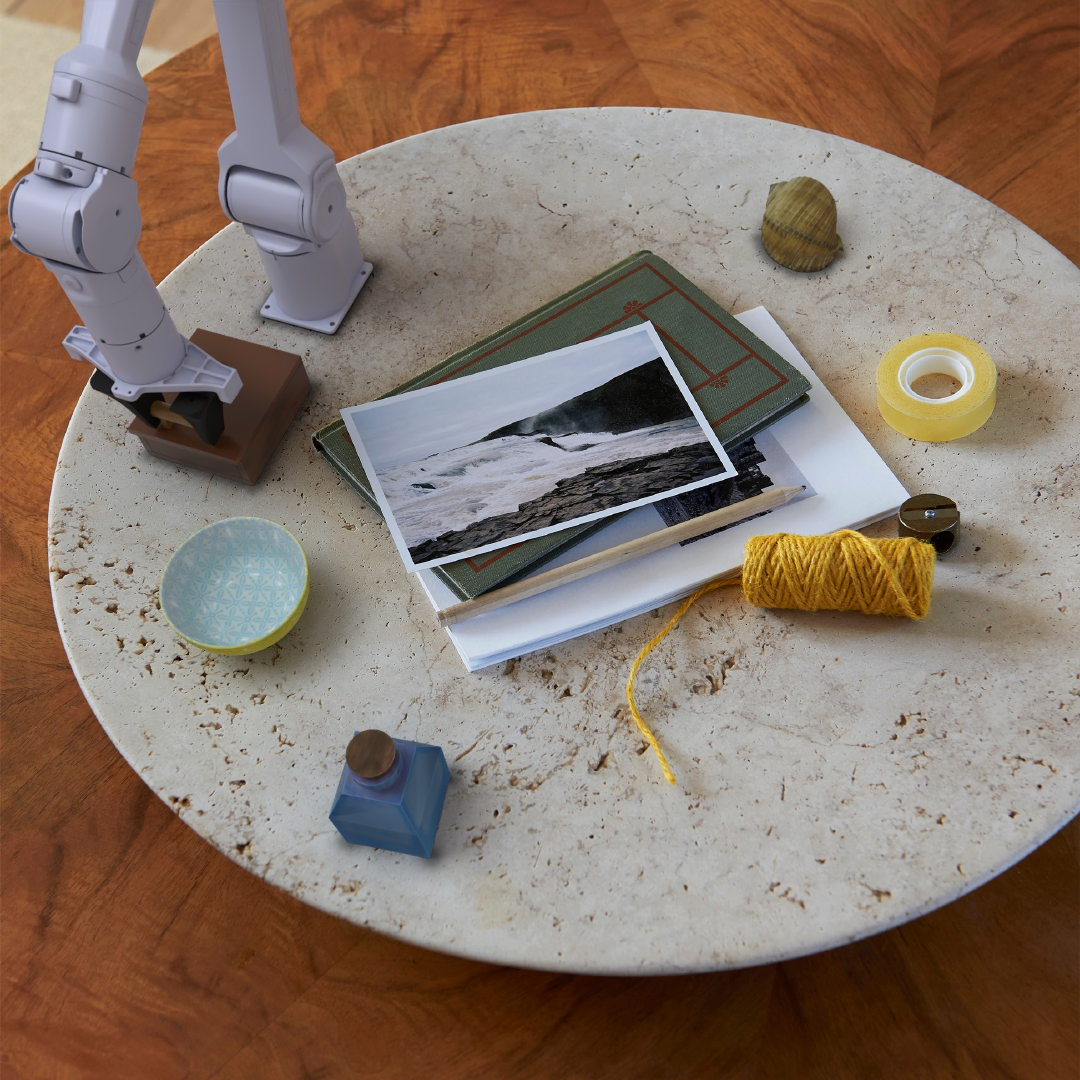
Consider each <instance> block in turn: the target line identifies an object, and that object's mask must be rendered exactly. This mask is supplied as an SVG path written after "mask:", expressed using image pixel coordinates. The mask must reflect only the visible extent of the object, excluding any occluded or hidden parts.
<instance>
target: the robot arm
mask: <svg viewBox="0 0 1080 1080" xmlns="http://www.w3.org/2000/svg"><path fill="white" fill-rule="evenodd" d="M155 1H156V0H83V8H82V9H83V10H82V16H81V17H82V18H81V26H80V33H79V34H80V35H79V43H78V44H77V45H76V46H75V47H73V48H71V49H70V50H68V51H67V52H65V53H63V54H61V55H60V56H59V57H58V58H56V59H55V61H54V67H53V71H52V76H51V81H50V85H49V87H50V88H49V92H48V97H47V101H46V106H45V112H44V116H43V121H42V125H41V132H40V136H39V143H38V146H37V152H36V157H35V161H34V166H33V170H32V171H31V172H30V173H28V174H26V175H24V176H23V177H21V178H20V179H19V181H18V182H17V183H16V184H15V185H14V187H13V189H12V191H11V193H10V196H9V200H8V206H7V215H8V222H9V225H10V227H11V231H12V233H11V235H10V237H9V240H10V242H11V243H12V245H13V246H14V247H15V248H16V249H17V250H18V251H20V252H21V253H22V254H25V255H28V256H32V257H35V258H38V259H39V260H40V261H41V262H42V264H43V265H44V267H45V268H46V270H47V271H48V272H50V273H53V275H54V276H55V278H56V280H57V281H58V283H59V285H60V286H61V288H62V290H63V291H64V293H65V295H66V297H67V298H68V300H69V301H70V303H71V304H72V306H73V307H74V310H75V311H76V313H77V315H78V317H79V318H80V320H81V322H82V323H83V325H84V326H83V325H78V324H75V325H74V326H73V327H72V328H71V330H70V331H69V333H68V334H67V335H66V336H65V338H64V339H63V340H62V341H61V343H62V345H63V347H64V348H65V350H66V351H67V353H68V354H69V356H70V358H71V359H73V360H76V361H79V362H83V361H84V360H87V361H88V362H89V363H91V365H93V366H94V367H95V369H96V370H95V371H94V373H93V374H92V376H91V377H90V379H89V385H90V387H91V389H92V390H94V391H96V392H99V393H101V394H103V395H105V396H107V397H109V398H111V399H112V400H114V401H116V402H117V403H119V404H120V405H122V406H123V407H124V408H126V409H127V410H128V411H129V412H130V413H132V414H133V415H134V416H135V417H136V416H137V417H138V418H139V419H140V420H141V421H142V422H144V423H145V424H146V425H147V426H149V427H151V428H154V429H157V427H158V426H159V424H160V423H161V422H160V420H159V418H157V417H154V416H152V415H151V413H150V408H151V405H152V403H153V402H154V401H156V400H158V401H162V402H165V403H166V401H165V399H164V396H163V394H162V392H180V393H179V394H178V396H177V397H176V399H175V400H174V402H173V403H172V405H171V406H170V408H169V410H170V411H171V412H173V413H175V414H178V415H179V416H181V417H183V418H184V419H185V420H186V421H188V422H189V424H190V425H191V426H192V427H193V428H194V430H195V431H196V432H197V434H198V435H199V437H200V438H201V440H202V441H204V442H205V443H206V444H208V445H211V446H214V445H215V444H216V443H217V441H218V440H219V438H220V436H221V435H222V433H223V432H224V430H225V424H224V415H223V402H226V403H230V404H231V403H232V402H233V400H234V399H235V397H236V396H237V394H238V393H239V391H240V389H241V388H242V386H243V384H242V381H241V379H240V377H239V375H238V372H237V370H236V369H234V368H231V367H228V366H227V365H226V364H225V363H222V362H219V361H217V360H215V359H214V358H213V357H211V356H210V355H209V354H207V353H206V352H205V351H203V350H202V349H200V348H199V347H198V346H196V345H195V344H194V343H192V342H191V341H190V340H189V339H188V338H187V337H186V336H184V335H183V334H182V333H180V332H179V331H178V328H177V326H176V324H175V322H174V321H173V318H172V316H171V314H170V312H169V310H168V308H167V306H166V304H165V302H164V300H163V299H162V296H161V294H160V293H159V292H160V291H159V290H158V288H157V286H156V284H155V281H154V279H153V278H152V276H151V274H150V272H149V270H148V267H147V266H146V264H145V262H144V259H143V257H142V255H141V253H140V251H139V249H138V245H139V240H140V237H141V235H142V232H143V221H142V212H141V208H140V205H139V202H138V201H139V200H138V199H139V198H138V197H139V195H138V194H139V190H140V188H139V187H138V181H137V180H136V179H133V178H132V177H133V172H134V168H135V163H136V158H137V153H138V150H139V145H140V144H139V143H140V140H141V134H142V130H143V126H144V122H145V121H144V120H145V116H146V111H147V107H148V102H149V101H148V100H149V98H150V97H149V96H150V91H149V88H148V87H147V84H146V82H145V81H144V79H143V76H142V74H141V73H140V70H139V67H138V65H137V64H138V63H137V62H138V60H139V56H140V53H141V49H142V45H143V42H144V39H145V36H146V32H147V29H148V26H149V22H150V19H151V15H152V13H153V9H154V5H155ZM211 1H212V6H213V7H212V8H213V11H214V17H215V22H216V28H217V33H218V37H219V44H220V49H221V54H222V61H223V65H224V71H225V76H226V80H227V82H226V83H227V87H228V92H229V97H230V103H231V109H232V113H233V118H234V119H233V120H234V125H235V130H234V131H233V132H231V134H230V135H228V136H227V137H226V138H225V139H224V140H223V142H222V143H221V144H220V146H219V148H218V149H217V151H216V154H217V158H218V163H219V177H218V183H217V184H218V185H217V193H218V200H219V203H220V207H221V209H222V212H223V213H224V215H225V217H226V218H227V219H228V220H230V221H231V222H234V223H239V224H242V227H243V231H244V233H245V234H246V235H248V236H250V237H251V238H253V240H254V242H255V246H256V247H257V250H258V253H259V256H260V259H261V262H262V265H263V267H264V270H265V272H266V275H267V278H268V281H269V284H270V287H271V289H272V292H271V293H270V295H269V296H268V298H267V299H266V301H265V302H264V303H263V306H262V307H261V308H260V311H259V313H260V316H262V317H263V318H267V319H271V320H273V321H278V322H283V323H285V324H290V325H292V326H293V325H294V326H297V327H301V328H304V329H308V330H312V331H313V330H314V331H317V332H320V333H323V334H328V335H332V334H334V333H335V332H336V331H337V330H338V328H339V326H340V325H341V323H342V322H343V319H344V318H345V316H346V315H347V313H348V312H349V310H350V308H351V307H352V304H353V303H354V302H355V300H356V298H357V297H358V295H359V293H360V292H361V290H362V288H363V287H364V285H365V283H366V282H367V280H368V278H370V275H371V273H372V272H373V270H374V266H373V263H371V262H369V261H365V259H364V255H363V250H362V247H361V243H360V239H359V235H358V231H357V227H356V224H355V222H356V221H355V219H354V216H353V215H352V213H351V211H350V209H349V208H348V206H347V192H346V188H345V186H344V183H343V179H342V177H341V176H340V174H339V172H338V168H337V164H336V156H335V152H334V151H333V150H332V148H331V147H330V146H328V145H327V144H326V143H325V142H324V141H322V139H320V138H319V137H318V136H317V135H316V134H315V133H313V132H312V131H311V130H310V129H309V128H308V127H307V126H306V125H305V124H303V122H302V119H301V113H300V105H299V97H298V91H297V83H296V77H295V76H296V75H295V70H294V62H293V55H292V46H291V41H290V39H291V38H290V33H289V32H290V31H289V25H288V17H287V11H286V2H285V0H211Z"/></svg>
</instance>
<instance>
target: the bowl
mask: <svg viewBox="0 0 1080 1080" xmlns="http://www.w3.org/2000/svg"><path fill="white" fill-rule="evenodd" d="M310 573H311V572H310V567H309V561H308V558H307V555H306V552H305V550H304V548H303V546H302V544H301V543H300V541H299V539H298V538H297V537H296V536H295V534H293V533H292V532H291V531H290V530H288V528H286V527H285V526H283V525H281V524H279V523H278V522H276V521H274V520H271V519H267V518H262V517H259V516H252V515H251V516H250V515H240V516H233V517H227V518H224V519H220V520H217V521H215V522H214V521H213V522H212V523H209V524H207V525H205V526H203V527H201V528H200V529H198V530H196V531H195V532H193V533H192V534H191V535H189V536H188V537H187V538H186V539H184V541H182V542H181V544H179V545H178V547H176V549H175V550H174V552H173V553H172V554H171V555H170V557H169V559H168V560H167V562H166V564H165V566H164V568H163V570H162V573H161V576H160V580H159V585H158V601H159V605H160V609H161V613H162V614H163V616H164V619H165V621H166V622H167V623H168V625H169V626H170V627H171V629H172V630H173V631H174V632H175V633H176V634H177V635H178V636H179V637H181V638H182V639H183V640H185V642H187V643H189V644H190V645H192V646H193V647H196V648H197V649H200V650H203V651H205V652H208V653H211V654H214V655H215V654H216V655H221V656H222V655H223V656H244V655H245V656H246V655H250V654H254V653H258V652H260V651H263V650H265V649H267V648H269V647H271V646H273V645H275V644H276V643H278V642H279V641H280V640H282V639H283V638H284V637H285V636H286V635H287V634H289V632H290V631H291V630H292V629H293V628H294V627H295V626H296V624H297V623H298V621H299V620H300V618H301V617H302V615H303V613H304V610H305V608H306V605H307V602H308V598H309V594H310V586H311V585H310V584H311V574H310Z"/></svg>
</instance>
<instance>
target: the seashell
mask: <svg viewBox="0 0 1080 1080" xmlns="http://www.w3.org/2000/svg"><path fill="white" fill-rule="evenodd" d="M767 196H768V197H767V198H766V202H765V211H764V213H763V216H762V223H761V227H760V230H761V235H760V238H761V240H762V242H761V243H762V246H763V247H764V250H765V252H767V254H768V257H769V258H771V259H772V260H773V261H775V262H776V263H777V264H778V265H781V267H785V268H787V269H790V270H793V271H796V272H801V273H802V272H806V273H808V272H810V273H811V272H819V271H820V270H821V271H823V270H824V269H825V267H827V265H828V264H829V263H830V262H831V261H833V259H834V258H835V256H836V253H837V252H838V251H841V252H845V250H844V249H845V248H844V244H843V239H842V237H841V235H839V234H838V233H837V222H838V218H837V217H838V212H837V210H838V209H837V204H836V200H835V198H834V196H833V194H832V193H831V191H830V189H829V188H828V187H826V185H825V184H824V183H822V182H821V181H819V180H818V179H815V178H813V177H812V176H811V177H809V176H797V177H793V178H791V179H790V180H788V181H787V180H783V181H780V182H776V183H772V184H770V185H769V190H768V195H767Z"/></svg>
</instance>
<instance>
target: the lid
mask: <svg viewBox="0 0 1080 1080" xmlns="http://www.w3.org/2000/svg"><path fill="white" fill-rule="evenodd" d="M188 340H190V341H191V342H192V343H194V344H195V345H196V346H198V347H199V348H200V349H202V350H203V351H205V352H206V353H207V354H209V355H210V356H211V357H213V358H214V359H215V360H217V361H219V362H222V363H225V364H226V365H227V366H228V367H231V368H234V369H236V370H237V372H238V375H239V377H240V379H241V381H242V384H243V386H242V388H241V389H240V391H239V393H238V394H237V396H236V397H235V399H234V400H233V402H232V403H231V404H230V403H226V402H223V415H224V424H225V430H224V432H223V433H222V435H221V436H220V438H219V440H218V441H217V443H216V444H215V445H214V446H211V445H208V444H206V443H205V442H204V441H202V440H201V438H200V437H199V435H198V434H197V432H196V431H195V430H194V428H193V427H192V426H191V425H190V424H189V422H188V421H186V420H185V419H184V418H183V417H181V416H179V415H178V414H175V413H173V412H171V411H170V410H169V408H170V406H171V405H172V403H173V402H174V400H175V399H176V397H177V396H178V394H179V393H180V392H162V394H163V396H164V399H165V401H166V403H165V402H162V401H158V400H156V401H154V402H153V403H152V405H151V408H150V413H151V415H152V416H154V417H157V418H159V420H160V422H161V423H160V424H159V426H158V427H157V429H154V428H151V427H149V426H147V425H146V424H145V423H144V422H142V421H141V420H140V419H139V418H138V417H137V416H135V417H134V419H132V422H131V423H130V424H129V426H128V427H127V428H126V429H127V431H128V433H129V434H131V435H135V436H137V435H138V436H141V437H144V438H148V439H151V440H154V441H158V442H161V443H164V444H168V445H171V446H175V447H178V448H181V449H185V450H188V451H191V452H195V453H198V454H201V455H205V456H208V457H211V458H215V459H218V460H222V461H225V462H228V463H232V464H235V465H238V464H239V462H240V461H241V459H242V457H243V456H244V454H245V453H246V451H247V449H248V448H249V446H250V444H251V443H252V441H253V439H254V438H255V436H256V435H257V433H258V431H259V430H260V428H261V426H262V425H263V423H264V422H265V420H266V418H267V417H268V415H269V413H270V412H271V410H272V408H273V407H274V405H275V404H276V402H277V400H278V399H279V397H280V395H281V394H282V392H283V391H284V389H285V387H286V386H287V384H288V382H289V381H290V379H291V377H292V376H293V374H294V373H295V371H296V369H297V368H298V366H299V364H300V363H301V361H303V357H302V355H299V354H296V353H293V352H288V351H285V350H281V349H278V348H275V347H271V346H266V345H263V344H262V345H261V344H259V343H256V342H252V341H247V340H244V339H240V338H236V337H233V336H229V335H225V334H222V333H218V332H216V331H215V332H214V331H211V330H207V329H204V328H199V327H197V328H195V330H194V332H193V333H192V334H191V336H190V337H189V339H188ZM138 436H137V437H138Z"/></svg>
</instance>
